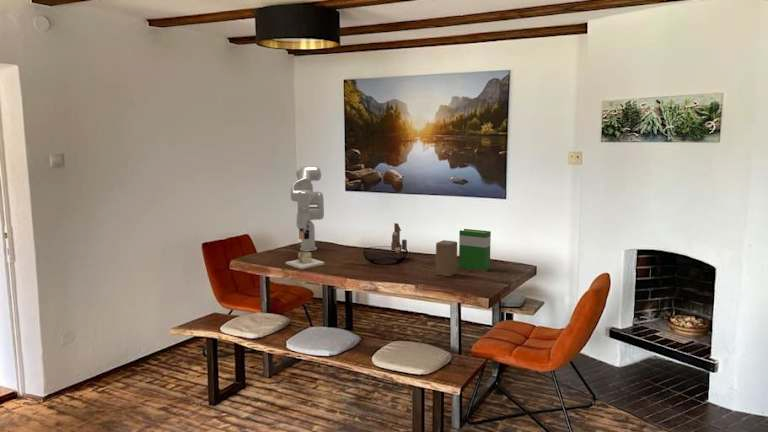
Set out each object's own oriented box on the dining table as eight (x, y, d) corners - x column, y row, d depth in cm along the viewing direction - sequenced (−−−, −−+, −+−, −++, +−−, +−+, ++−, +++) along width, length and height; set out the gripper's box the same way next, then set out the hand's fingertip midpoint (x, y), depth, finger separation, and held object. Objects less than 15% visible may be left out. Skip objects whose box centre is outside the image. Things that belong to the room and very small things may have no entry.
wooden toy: (399, 262, 369) (399, 225, 365) (389, 262, 371) (389, 224, 368) (407, 257, 383) (407, 221, 379) (398, 257, 386) (398, 221, 382)
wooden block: (450, 277, 331) (450, 244, 328) (435, 275, 336) (435, 242, 333) (457, 273, 339) (457, 241, 336) (442, 271, 345) (442, 239, 342)
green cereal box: (459, 268, 354) (459, 230, 350) (464, 265, 360) (464, 228, 357) (485, 271, 344) (485, 233, 341) (489, 269, 351) (490, 231, 347)
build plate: (285, 264, 367) (285, 261, 367) (308, 259, 379) (308, 257, 379) (301, 268, 354) (301, 266, 354) (324, 264, 366) (324, 261, 366)
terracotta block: (299, 238, 364) (298, 231, 363) (305, 237, 367) (305, 230, 367) (303, 239, 360) (303, 232, 360) (309, 238, 364) (309, 231, 363)
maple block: (298, 261, 366) (298, 252, 366) (306, 260, 370) (306, 251, 370) (303, 263, 362) (303, 254, 361) (311, 261, 366) (311, 252, 365)
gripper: (291, 209, 365) (292, 237, 368) (306, 212, 352) (307, 240, 355) (301, 208, 370) (301, 235, 372) (316, 211, 357) (316, 239, 360)
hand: (304, 238), depth 364 cm, fingers closed on terracotta block, 5 cm apart
